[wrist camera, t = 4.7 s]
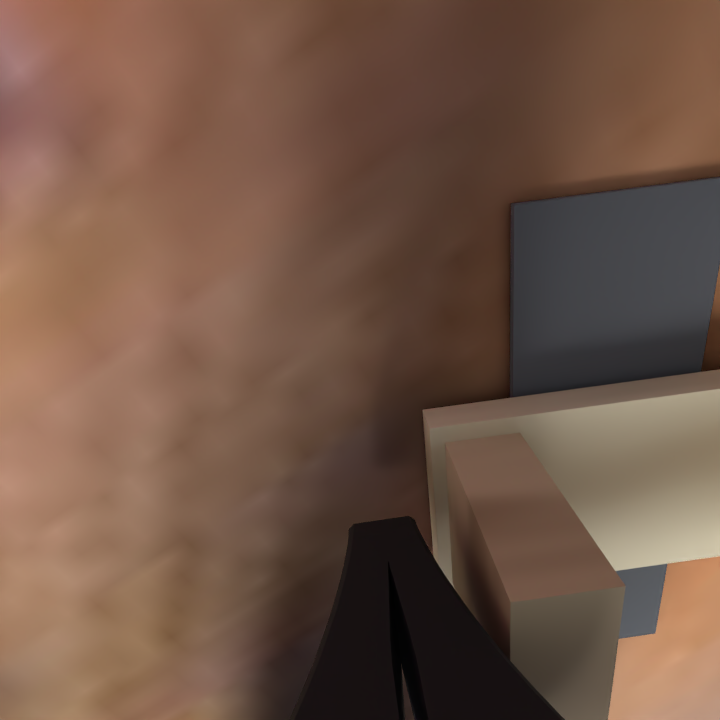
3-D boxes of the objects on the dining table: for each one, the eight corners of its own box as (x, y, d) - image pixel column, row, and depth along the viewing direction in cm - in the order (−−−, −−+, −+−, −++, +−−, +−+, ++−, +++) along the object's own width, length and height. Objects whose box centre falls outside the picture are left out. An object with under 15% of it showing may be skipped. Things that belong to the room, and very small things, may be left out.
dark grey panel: (650, 627, 15) (655, 633, 15) (508, 648, 15) (510, 654, 15) (726, 175, 10) (735, 176, 10) (510, 203, 10) (514, 204, 10)
